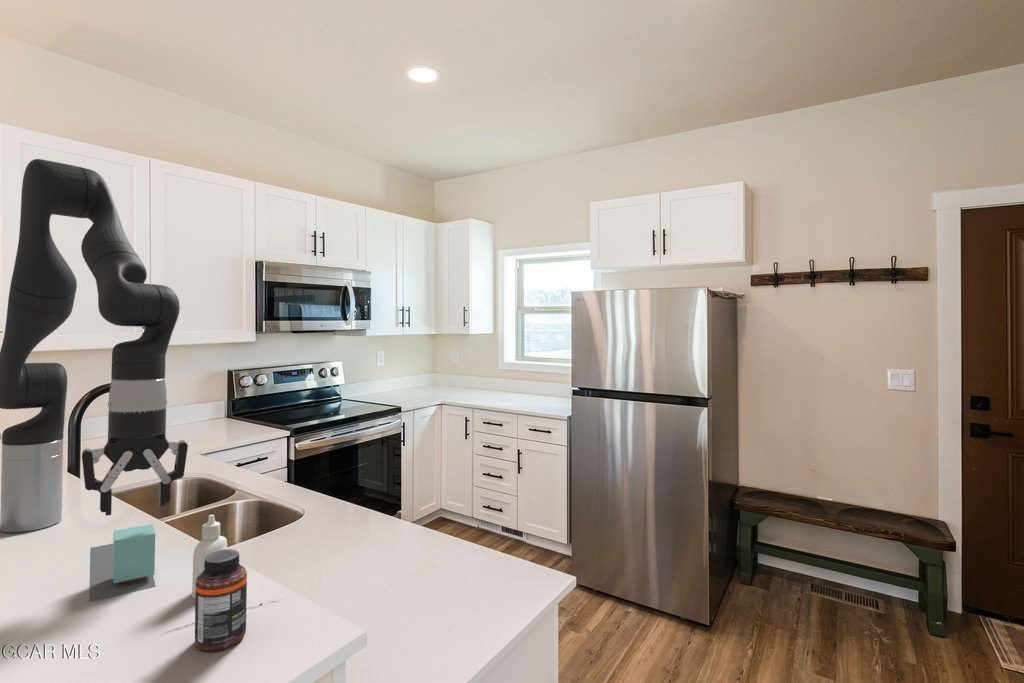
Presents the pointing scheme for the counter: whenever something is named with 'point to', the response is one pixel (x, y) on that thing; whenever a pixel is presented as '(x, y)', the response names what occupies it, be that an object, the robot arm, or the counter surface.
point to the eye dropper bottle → (207, 547)
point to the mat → (110, 576)
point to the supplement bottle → (220, 601)
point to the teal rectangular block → (133, 553)
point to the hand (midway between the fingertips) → (135, 509)
